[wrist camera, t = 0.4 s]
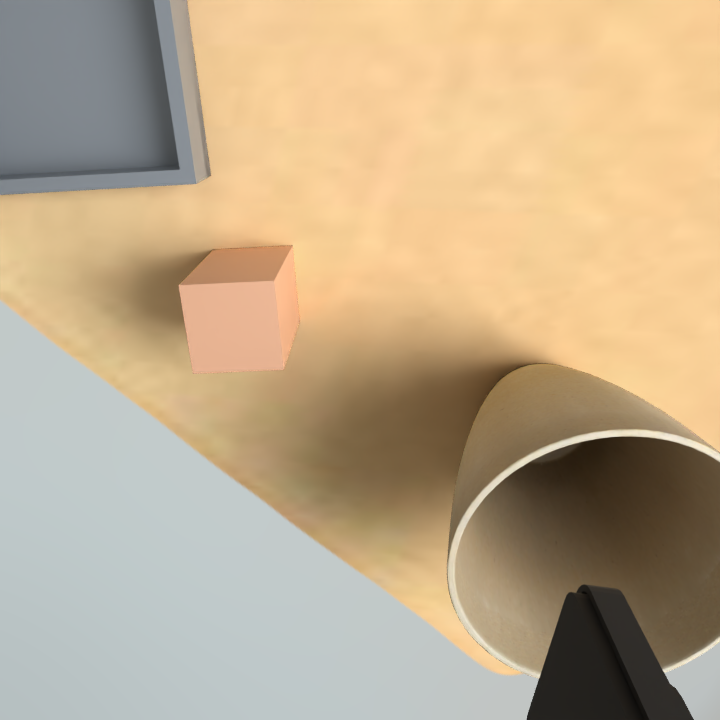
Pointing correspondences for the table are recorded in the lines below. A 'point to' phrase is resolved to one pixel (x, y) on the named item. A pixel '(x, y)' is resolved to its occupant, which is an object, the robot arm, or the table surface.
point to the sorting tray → (98, 96)
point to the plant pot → (583, 517)
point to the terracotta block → (241, 309)
